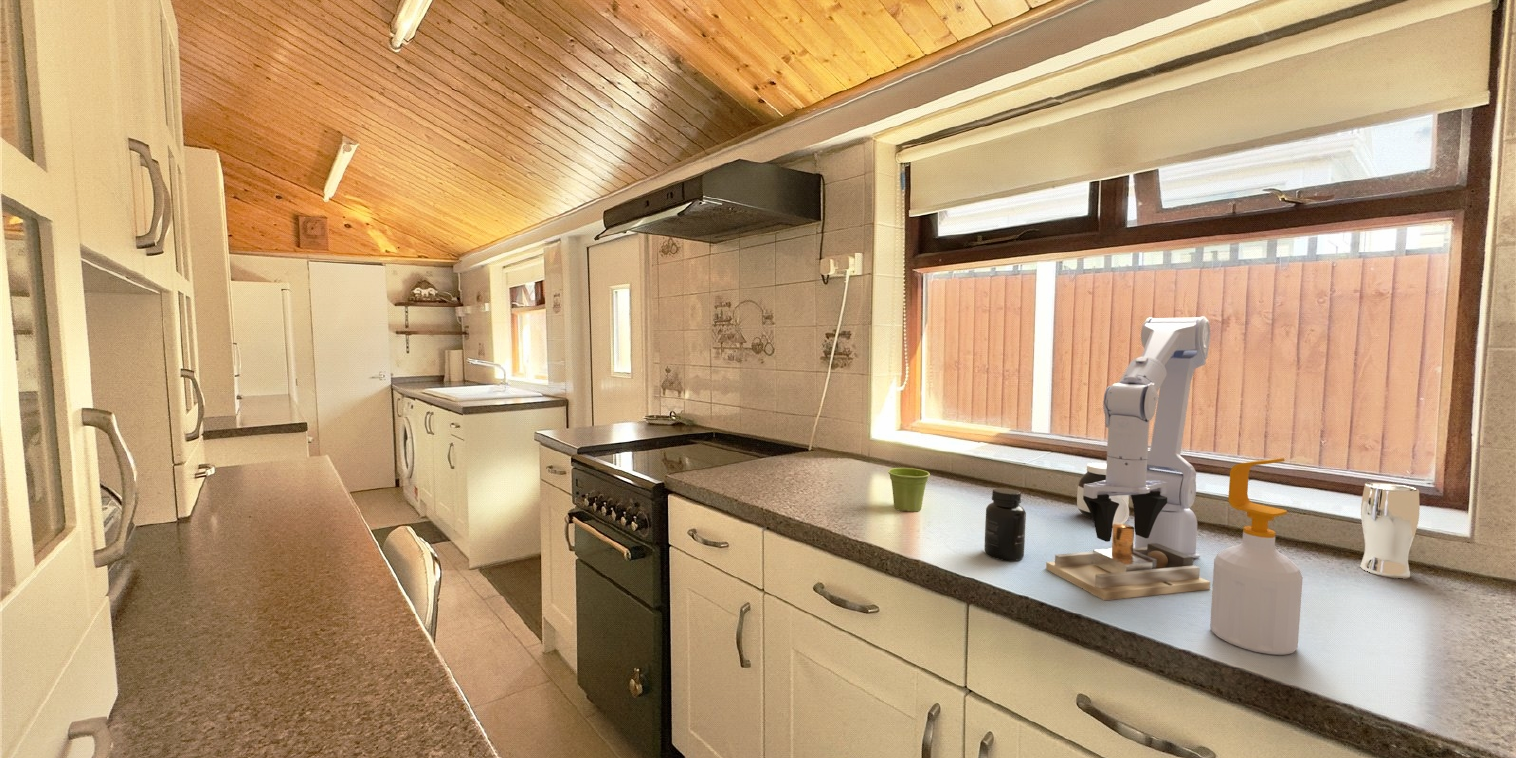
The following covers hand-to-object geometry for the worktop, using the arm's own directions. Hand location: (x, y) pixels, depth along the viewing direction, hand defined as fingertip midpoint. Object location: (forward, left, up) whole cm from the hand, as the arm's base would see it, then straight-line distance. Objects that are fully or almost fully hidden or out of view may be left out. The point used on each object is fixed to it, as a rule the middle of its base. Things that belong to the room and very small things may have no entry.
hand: (1122, 538), depth 102 cm
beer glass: (-48, +7, -7) cm, 49 cm away
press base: (-1, 0, -7) cm, 7 cm away
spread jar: (-24, -29, -7) cm, 38 cm away
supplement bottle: (+12, -14, -7) cm, 20 cm away
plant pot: (+15, -46, -7) cm, 49 cm away
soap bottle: (-1, +21, -7) cm, 22 cm away
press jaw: (0, 0, -5) cm, 5 cm away
